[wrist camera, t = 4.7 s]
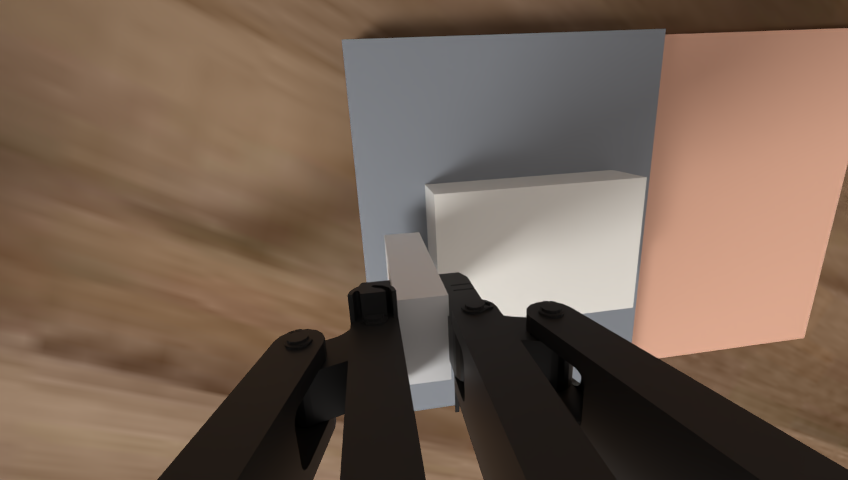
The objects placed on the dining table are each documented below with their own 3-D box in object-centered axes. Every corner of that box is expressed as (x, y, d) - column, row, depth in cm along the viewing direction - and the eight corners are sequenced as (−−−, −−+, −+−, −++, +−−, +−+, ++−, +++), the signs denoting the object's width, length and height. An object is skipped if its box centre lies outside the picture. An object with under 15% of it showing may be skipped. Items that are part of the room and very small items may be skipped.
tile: (431, 305, 20) (440, 331, 18) (424, 184, 18) (434, 194, 16) (602, 286, 21) (633, 307, 19) (612, 170, 19) (646, 177, 17)
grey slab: (379, 391, 23) (380, 415, 21) (343, 47, 18) (341, 39, 16) (607, 360, 25) (627, 379, 23) (636, 37, 20) (665, 28, 18)
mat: (610, 359, 25) (615, 364, 25) (640, 37, 20) (647, 35, 19) (796, 333, 27) (804, 337, 26) (870, 28, 21) (881, 26, 21)
